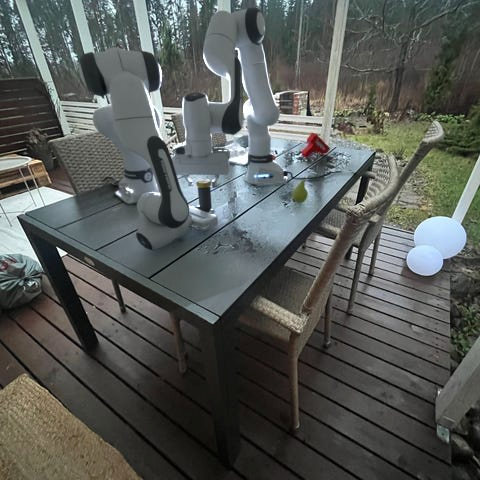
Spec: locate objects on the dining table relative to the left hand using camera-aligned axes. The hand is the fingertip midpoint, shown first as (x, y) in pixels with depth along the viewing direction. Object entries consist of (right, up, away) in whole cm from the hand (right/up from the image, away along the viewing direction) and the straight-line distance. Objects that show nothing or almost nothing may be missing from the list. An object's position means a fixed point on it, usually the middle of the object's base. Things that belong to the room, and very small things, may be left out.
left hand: (207, 208), depth 105 cm
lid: (-1, +9, -7) cm, 11 cm away
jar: (0, -5, +2) cm, 5 cm away
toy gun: (+63, +44, +77) cm, 109 cm away
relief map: (+9, +45, +79) cm, 91 cm away
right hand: (-1, +8, -6) cm, 10 cm away
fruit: (+39, +5, +16) cm, 43 cm away
